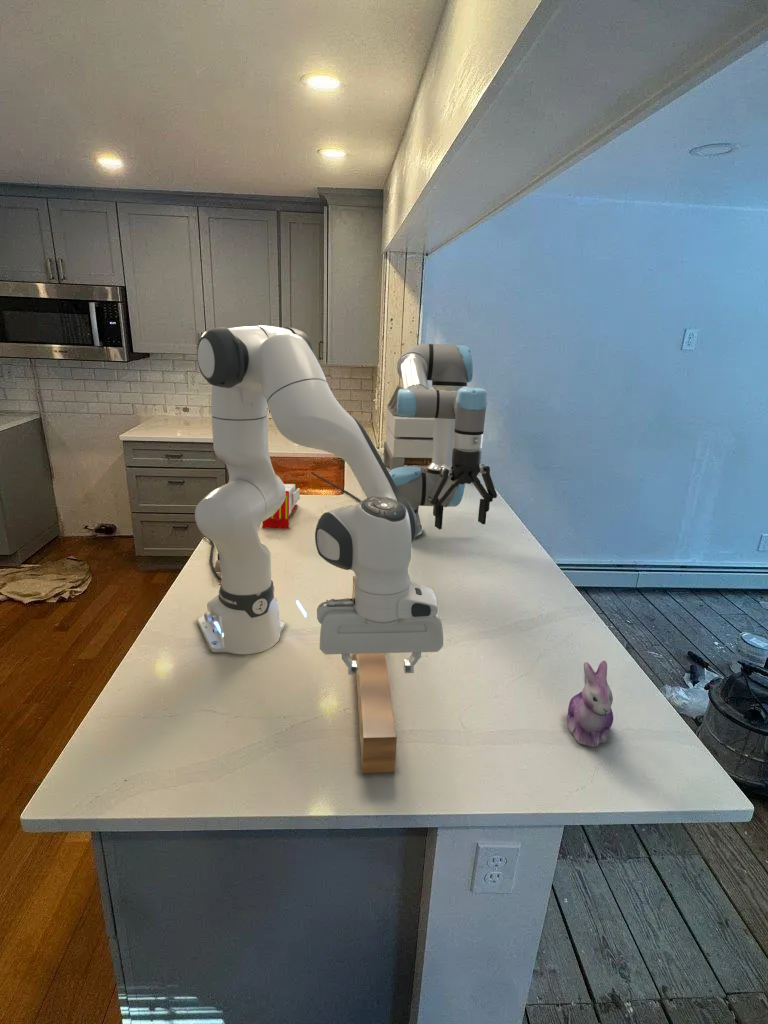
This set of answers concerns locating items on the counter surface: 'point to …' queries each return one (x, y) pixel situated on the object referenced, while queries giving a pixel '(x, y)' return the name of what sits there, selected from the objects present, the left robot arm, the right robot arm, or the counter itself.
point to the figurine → (591, 708)
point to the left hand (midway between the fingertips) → (380, 672)
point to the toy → (284, 509)
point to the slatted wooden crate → (407, 438)
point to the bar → (375, 712)
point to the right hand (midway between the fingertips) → (460, 525)
